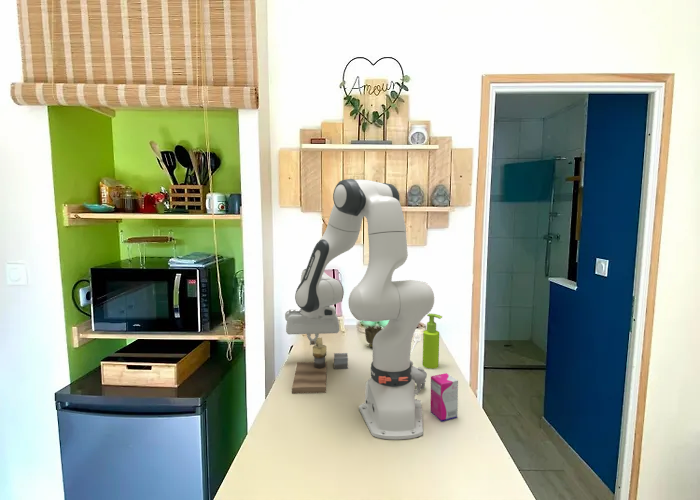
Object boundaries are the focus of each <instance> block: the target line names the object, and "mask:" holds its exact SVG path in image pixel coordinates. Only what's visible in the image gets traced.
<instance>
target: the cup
mask: <svg viewBox="0 0 700 500" xmlns="http://www.w3.org/2000/svg"><path fill="white" fill-rule="evenodd" d="M382 329H383V328H382V327H381V326H380V327H379V326H378V325H377V326H376V327H375V326H373V325H372V326H368V327H365V328H364V334H365V340H366V342H367V344H369V345H368V346H369V347H370V349H371V348H372V349H373V339H374V337H375V335H376V334H377V333H378V332H379V331H380V330H382Z"/></svg>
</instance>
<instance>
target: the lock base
mask: <svg viewBox="0 0 700 500" xmlns="http://www.w3.org/2000/svg"><path fill="white" fill-rule="evenodd" d="M348 359H349V357H348V353H347V352H336V353H335V352H334V353H333V361H334V363H333V365H334V367H333V369H334V370H339V369H340V370H343V369H345V370H346V369H349V362H348V361H349V360H348ZM313 360H314V361H297V362H296V367H295V371H294V375H293V380H292V386H291V394H316V393H317V394H321V393H322V394H325V393H326V394H327V373H328V372H327V371H328V370H327V368H328V362H327V361H326V356H325V357H322V358H316V357H314V356H313Z"/></svg>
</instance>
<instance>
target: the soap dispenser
mask: <svg viewBox="0 0 700 500" xmlns="http://www.w3.org/2000/svg"><path fill="white" fill-rule="evenodd" d="M426 316H427V317H428V319H429V321H427V322H426V329H425V330H423V331H422V333H423V334H422V335H423V337H422V338H423V339H422V366H423V367H424V368H426V369H432V370H434V369H438V368H439V363H440V362H439V358H440V357H439V355H440V353H439V352H440V331H438V330H437V322H435V318H437V319H439V320H441V319H443V315H440V314H436V313H428V314H427V315H426Z"/></svg>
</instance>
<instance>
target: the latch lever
mask: <svg viewBox="0 0 700 500" xmlns="http://www.w3.org/2000/svg"><path fill="white" fill-rule="evenodd" d="M327 354H328V353H327V345H325V344H323V337H318V338H317V340H316V345H312V357H313V358H314V357H316V358H322V357H325V358H326V357H327Z"/></svg>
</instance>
